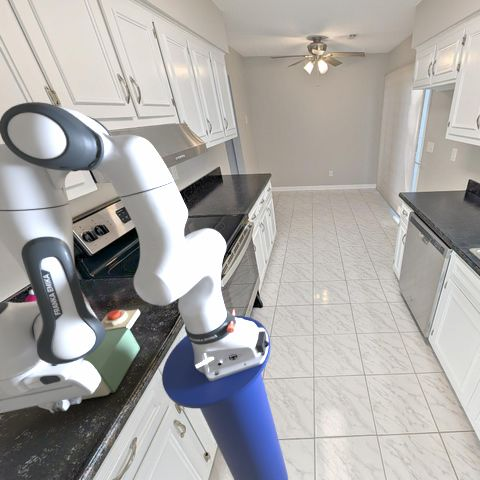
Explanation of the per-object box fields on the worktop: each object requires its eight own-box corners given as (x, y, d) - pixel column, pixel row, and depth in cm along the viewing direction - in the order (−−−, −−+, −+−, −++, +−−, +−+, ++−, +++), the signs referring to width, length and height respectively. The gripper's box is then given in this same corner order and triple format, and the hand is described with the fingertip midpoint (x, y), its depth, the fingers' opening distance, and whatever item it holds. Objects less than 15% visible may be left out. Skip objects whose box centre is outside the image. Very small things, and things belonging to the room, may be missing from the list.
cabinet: (114, 392, 70) (99, 370, 66) (64, 401, 68) (45, 379, 64) (140, 348, 83) (128, 327, 79) (98, 355, 82) (84, 334, 77)
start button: (122, 312, 94) (120, 309, 93) (117, 319, 90) (115, 316, 90) (112, 314, 93) (110, 310, 92) (106, 321, 90) (104, 317, 89)
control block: (140, 313, 98) (136, 305, 96) (128, 331, 90) (124, 322, 88) (110, 317, 97) (105, 309, 95) (95, 336, 89) (90, 327, 87)
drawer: (98, 411, 64) (84, 394, 61) (48, 420, 63) (31, 403, 60) (133, 352, 80) (123, 336, 77) (94, 359, 79) (82, 342, 76)
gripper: (-44, 395, 51) (-1, 434, 57) (72, 373, 54) (100, 412, 60) (-13, 368, 56) (23, 405, 62) (90, 349, 59) (114, 387, 65)
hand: (62, 408), depth 61 cm, fingers closed, pressing on drawer
